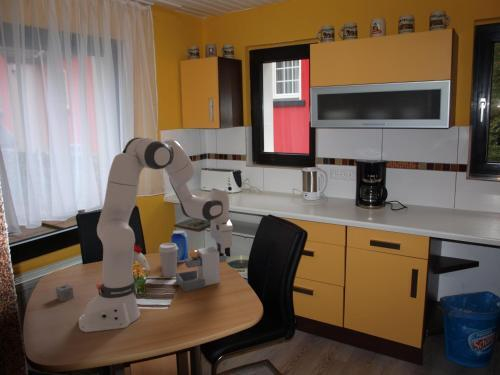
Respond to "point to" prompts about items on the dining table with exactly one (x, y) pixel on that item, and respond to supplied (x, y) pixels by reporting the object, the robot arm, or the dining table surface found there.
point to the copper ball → (194, 254)
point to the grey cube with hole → (64, 292)
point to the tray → (189, 281)
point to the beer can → (180, 244)
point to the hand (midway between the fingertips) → (220, 251)
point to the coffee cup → (168, 259)
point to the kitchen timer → (140, 258)
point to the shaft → (198, 262)
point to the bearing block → (209, 265)
